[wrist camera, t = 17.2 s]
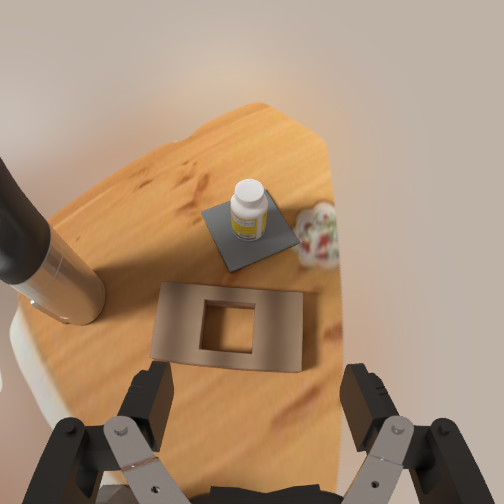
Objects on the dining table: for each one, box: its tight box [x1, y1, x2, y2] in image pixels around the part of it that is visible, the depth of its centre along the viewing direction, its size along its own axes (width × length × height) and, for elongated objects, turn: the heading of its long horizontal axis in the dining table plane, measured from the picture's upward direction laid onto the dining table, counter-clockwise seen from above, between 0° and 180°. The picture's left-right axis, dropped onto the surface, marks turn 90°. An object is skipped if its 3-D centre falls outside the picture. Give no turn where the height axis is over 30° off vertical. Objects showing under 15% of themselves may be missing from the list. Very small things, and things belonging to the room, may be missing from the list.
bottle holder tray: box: [150, 281, 303, 373], centre depth 41 cm, size 20×11×3 cm, turn 86°
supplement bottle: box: [231, 179, 268, 241], centre depth 45 cm, size 5×5×10 cm
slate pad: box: [201, 188, 299, 273], centre depth 50 cm, size 12×12×1 cm
